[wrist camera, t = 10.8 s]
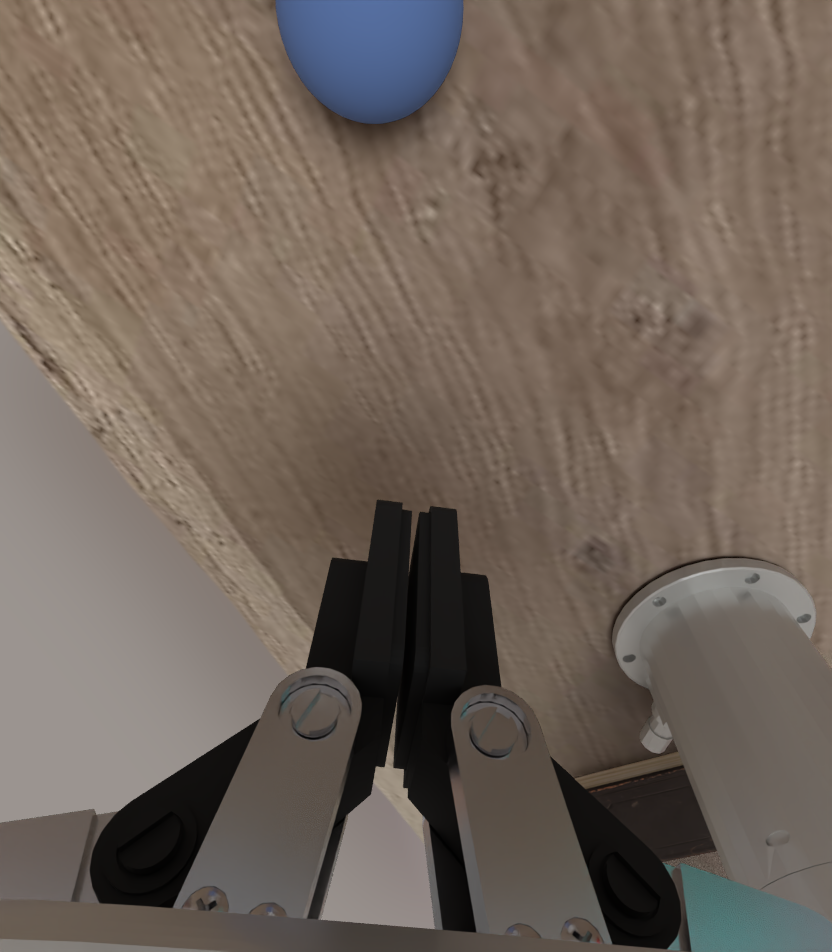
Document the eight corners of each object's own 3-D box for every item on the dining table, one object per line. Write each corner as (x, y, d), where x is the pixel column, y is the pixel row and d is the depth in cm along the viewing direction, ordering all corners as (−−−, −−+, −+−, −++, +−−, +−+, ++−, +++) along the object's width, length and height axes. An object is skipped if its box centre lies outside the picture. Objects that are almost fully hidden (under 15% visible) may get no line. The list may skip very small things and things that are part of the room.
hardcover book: (562, 770, 48) (567, 797, 46) (844, 697, 42) (864, 725, 40) (619, 846, 56) (626, 872, 54) (867, 793, 49) (885, 821, 47)
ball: (471, -190, 15) (511, 64, 19) (320, -114, 18) (383, 87, 23) (346, -119, 13) (424, 151, 17) (198, -48, 16) (296, 163, 20)
